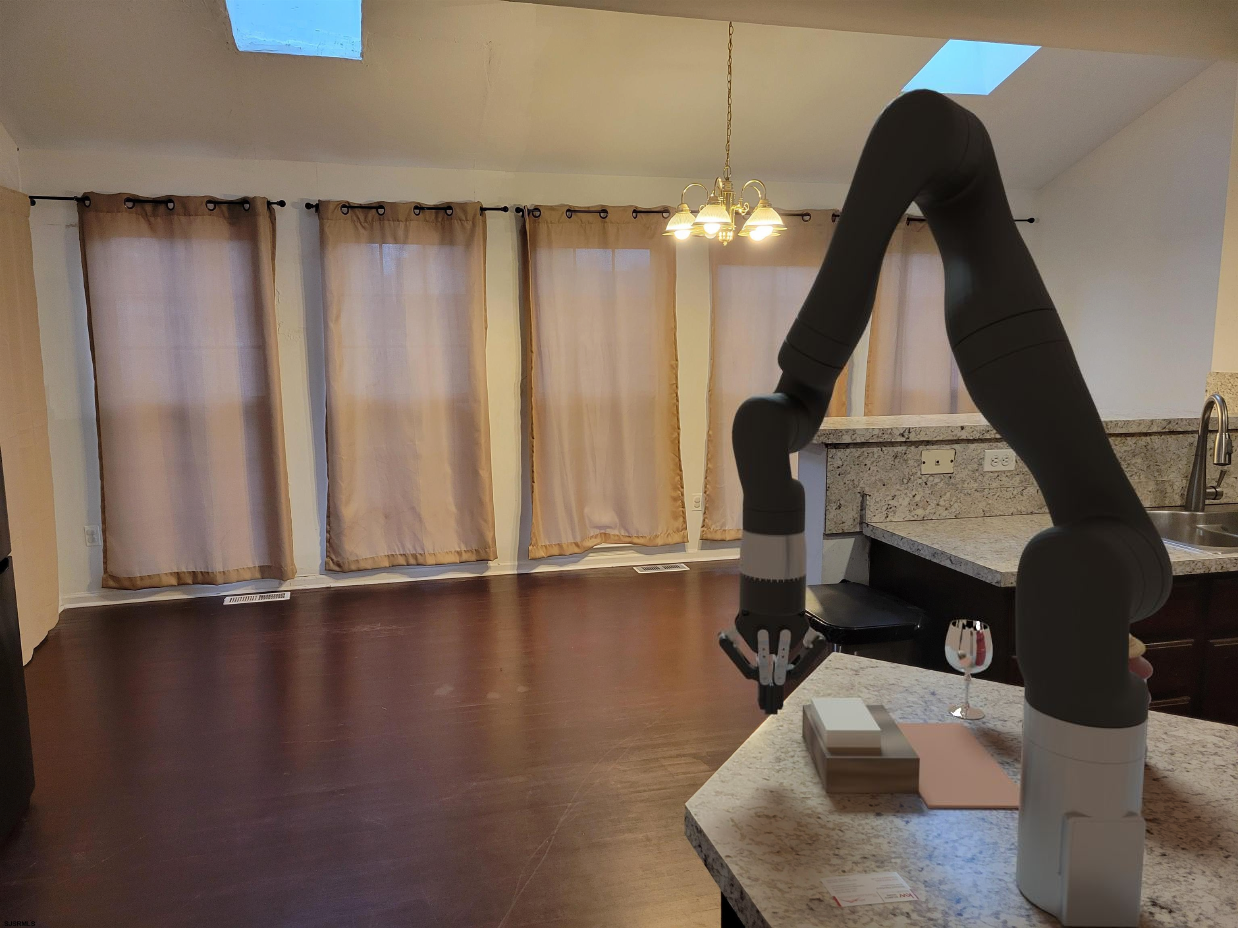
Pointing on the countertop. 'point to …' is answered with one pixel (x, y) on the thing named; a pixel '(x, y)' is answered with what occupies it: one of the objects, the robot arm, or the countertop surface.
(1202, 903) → the countertop surface
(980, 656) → the wineglass
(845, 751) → the block
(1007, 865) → the countertop surface
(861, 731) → the pale grey rectangular block
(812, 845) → the countertop surface
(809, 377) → the robot arm
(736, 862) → the countertop surface
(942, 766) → the mat
